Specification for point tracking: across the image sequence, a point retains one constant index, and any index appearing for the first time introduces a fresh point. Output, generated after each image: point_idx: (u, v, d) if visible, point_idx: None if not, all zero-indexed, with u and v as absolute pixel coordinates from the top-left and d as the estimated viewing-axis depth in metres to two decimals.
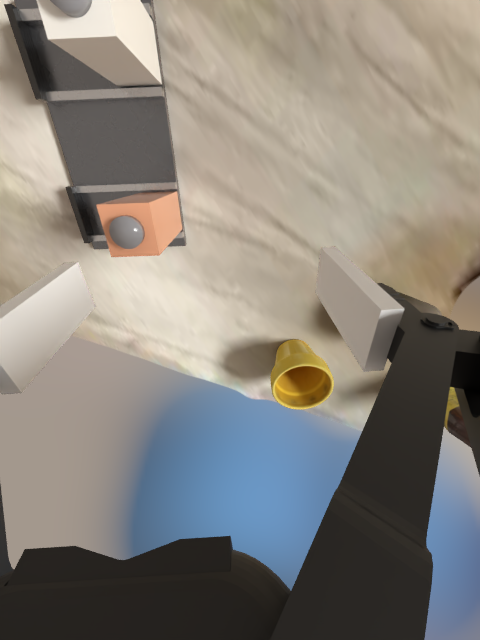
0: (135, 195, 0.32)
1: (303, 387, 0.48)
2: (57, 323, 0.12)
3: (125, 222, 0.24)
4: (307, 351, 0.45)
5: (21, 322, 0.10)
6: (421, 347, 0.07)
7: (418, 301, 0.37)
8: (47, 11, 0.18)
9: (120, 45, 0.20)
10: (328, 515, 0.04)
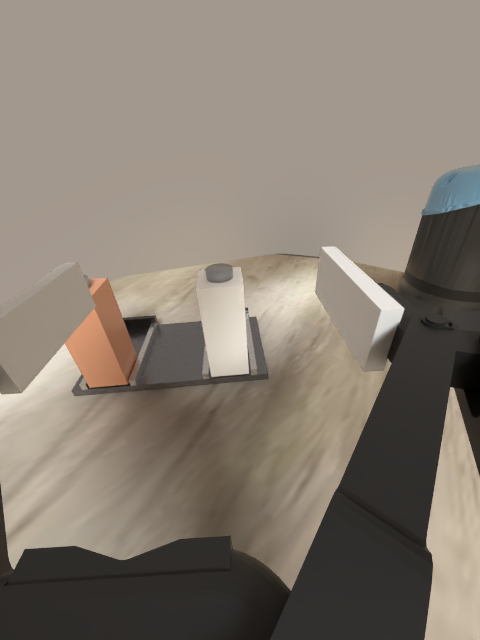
0: (127, 338, 0.35)
1: None
2: (57, 323, 0.12)
3: None
4: None
5: (21, 322, 0.10)
6: (421, 347, 0.07)
7: None
8: None
9: (198, 301, 0.28)
10: (328, 515, 0.04)
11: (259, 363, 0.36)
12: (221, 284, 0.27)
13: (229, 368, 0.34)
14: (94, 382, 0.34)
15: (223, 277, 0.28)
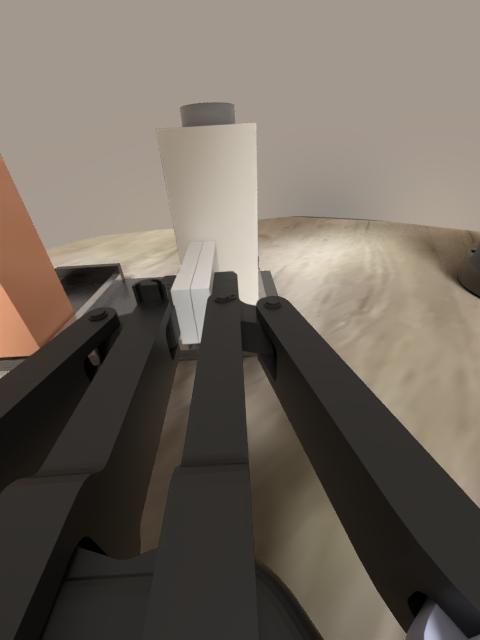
0: (49, 276, 0.20)
1: None
2: None
3: None
4: None
5: None
6: (218, 320, 0.09)
7: None
8: None
9: (164, 167, 0.14)
10: (172, 493, 0.04)
11: None
12: (209, 126, 0.13)
13: None
14: None
15: (215, 113, 0.13)
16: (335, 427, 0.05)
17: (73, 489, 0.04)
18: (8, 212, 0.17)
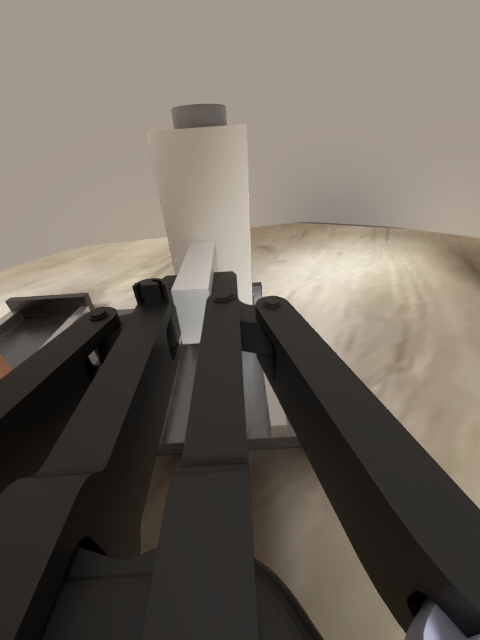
0: None
1: None
2: None
3: None
4: None
5: None
6: (217, 320, 0.09)
7: None
8: None
9: (155, 169, 0.14)
10: (171, 493, 0.04)
11: None
12: (200, 128, 0.13)
13: None
14: None
15: (205, 115, 0.13)
16: (334, 427, 0.05)
17: (73, 489, 0.04)
18: None
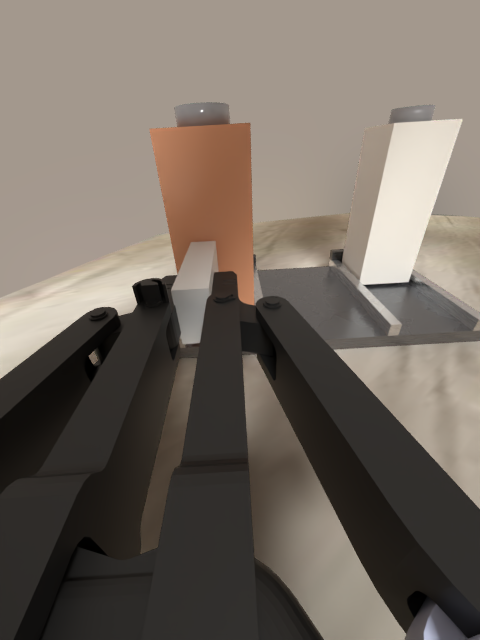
0: None
1: None
2: None
3: None
4: None
5: None
6: (217, 320, 0.09)
7: None
8: None
9: (385, 150, 0.20)
10: (171, 493, 0.04)
11: None
12: (426, 121, 0.19)
13: (387, 271, 0.25)
14: None
15: (427, 112, 0.20)
16: (334, 427, 0.05)
17: (73, 489, 0.04)
18: None
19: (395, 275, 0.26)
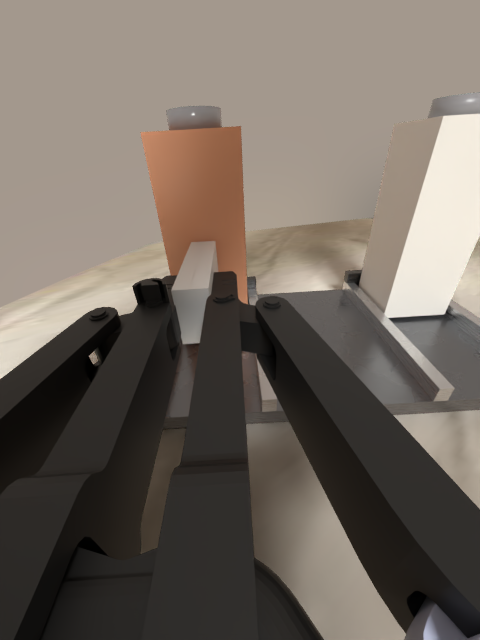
0: None
1: None
2: None
3: None
4: None
5: None
6: (217, 320, 0.09)
7: None
8: None
9: (428, 153, 0.15)
10: (171, 493, 0.04)
11: None
12: None
13: (419, 302, 0.20)
14: None
15: None
16: (334, 427, 0.05)
17: (73, 489, 0.04)
18: None
19: (429, 306, 0.21)
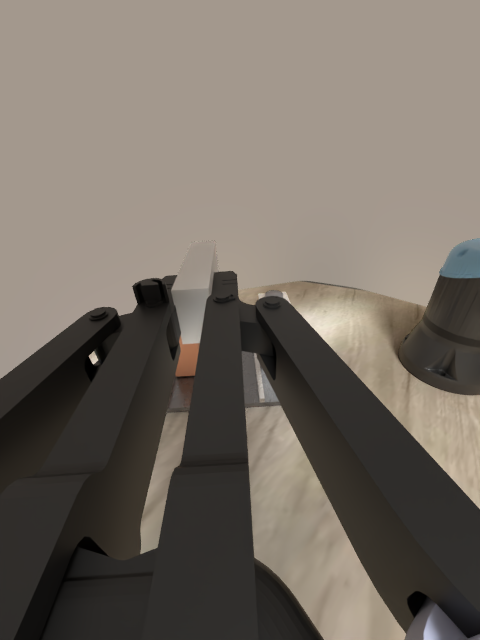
0: None
1: None
2: None
3: None
4: None
5: None
6: (217, 320, 0.09)
7: None
8: None
9: None
10: (171, 493, 0.04)
11: None
12: None
13: None
14: (180, 372, 0.48)
15: None
16: (334, 427, 0.05)
17: (73, 489, 0.04)
18: None
19: None
